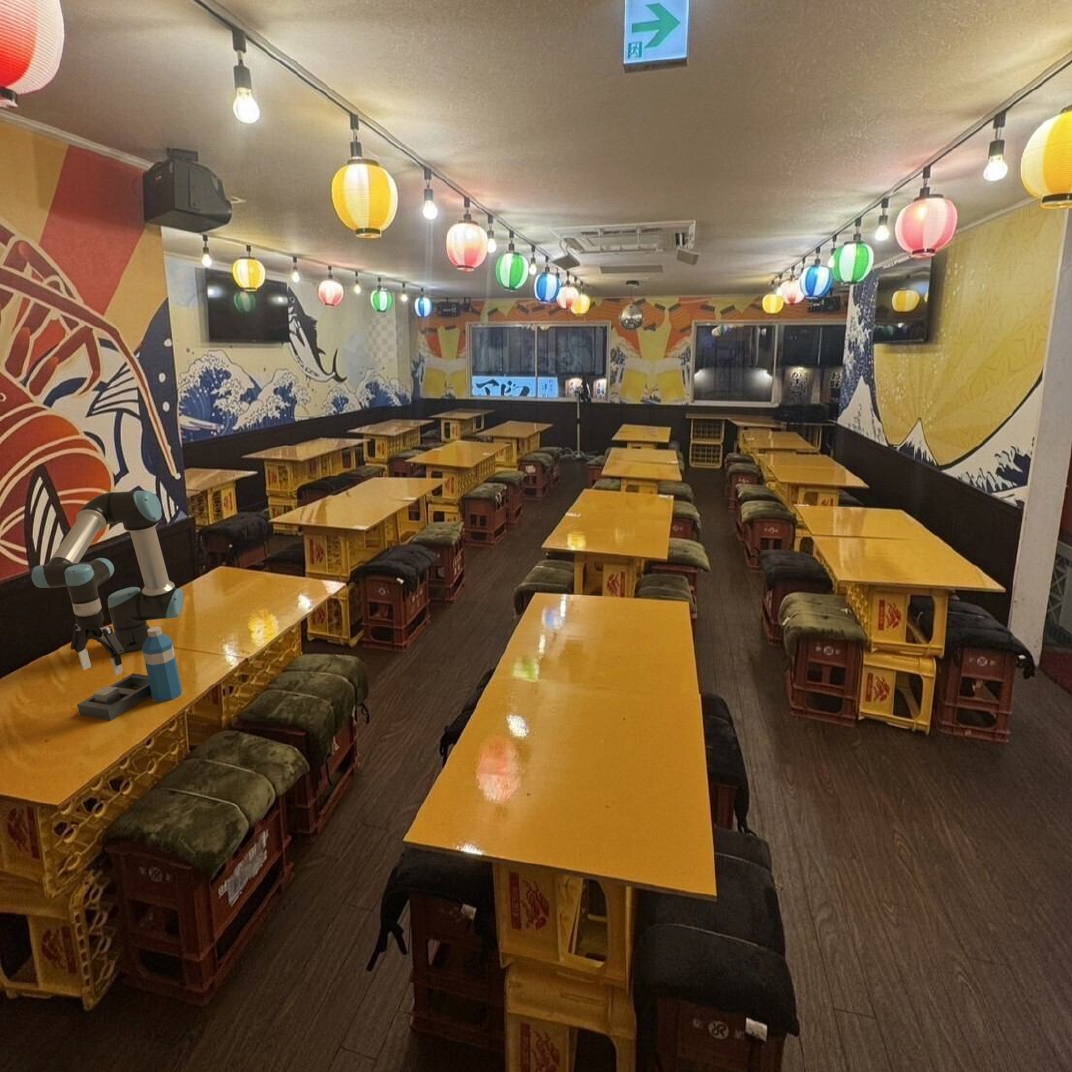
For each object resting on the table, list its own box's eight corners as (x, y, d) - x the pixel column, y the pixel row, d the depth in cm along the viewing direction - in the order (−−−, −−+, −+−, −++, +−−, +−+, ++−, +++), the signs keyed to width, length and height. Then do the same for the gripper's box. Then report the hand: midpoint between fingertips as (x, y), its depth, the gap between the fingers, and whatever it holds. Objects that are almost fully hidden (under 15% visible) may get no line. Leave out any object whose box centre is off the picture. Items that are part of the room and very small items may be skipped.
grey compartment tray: (134, 683, 244) (132, 673, 243) (163, 687, 240) (161, 677, 239) (79, 715, 224) (77, 704, 223) (110, 720, 220) (108, 709, 219)
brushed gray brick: (110, 704, 230) (106, 685, 228) (122, 706, 229) (118, 687, 227) (97, 712, 226) (93, 693, 224) (109, 713, 224) (105, 695, 222)
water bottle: (177, 685, 241) (164, 621, 234) (186, 694, 235) (173, 628, 228) (148, 695, 235) (134, 629, 228) (157, 705, 229) (143, 637, 221)
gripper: (47, 613, 217) (63, 671, 224) (108, 620, 210) (122, 681, 217) (69, 603, 224) (83, 661, 231) (128, 611, 217) (142, 670, 224)
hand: (102, 671), depth 224 cm, fingers open, 13 cm apart
